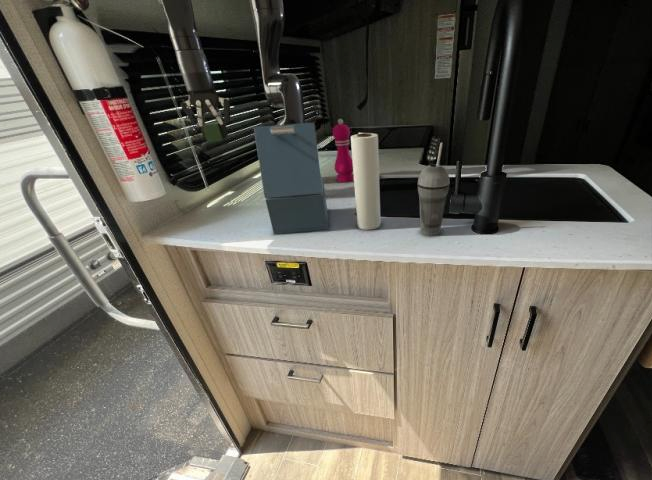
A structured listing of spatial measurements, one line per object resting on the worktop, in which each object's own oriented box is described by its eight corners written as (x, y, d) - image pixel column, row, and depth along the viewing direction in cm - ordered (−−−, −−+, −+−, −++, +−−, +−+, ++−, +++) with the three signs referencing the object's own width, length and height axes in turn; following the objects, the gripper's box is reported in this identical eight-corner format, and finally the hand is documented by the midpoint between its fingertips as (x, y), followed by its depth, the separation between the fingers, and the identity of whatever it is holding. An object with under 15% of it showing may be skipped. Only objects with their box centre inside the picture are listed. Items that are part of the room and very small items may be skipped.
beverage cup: (423, 224, 82) (428, 138, 70) (450, 229, 78) (459, 140, 66) (409, 234, 77) (412, 144, 65) (437, 241, 74) (445, 146, 62)
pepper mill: (338, 177, 122) (332, 117, 110) (356, 177, 121) (352, 117, 109) (334, 183, 116) (327, 120, 104) (353, 182, 115) (348, 119, 103)
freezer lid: (254, 128, 73) (248, 120, 68) (314, 123, 74) (312, 115, 69) (265, 198, 76) (260, 196, 72) (322, 193, 77) (321, 190, 72)
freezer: (280, 213, 94) (273, 182, 88) (327, 209, 94) (323, 178, 89) (273, 234, 82) (265, 200, 76) (327, 229, 82) (322, 195, 77)
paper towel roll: (376, 231, 80) (372, 137, 67) (354, 229, 82) (346, 137, 69) (384, 220, 85) (383, 131, 72) (363, 218, 87) (358, 131, 74)
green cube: (211, 139, 100) (206, 123, 98) (226, 138, 101) (221, 121, 98) (207, 141, 97) (202, 125, 94) (222, 140, 97) (217, 124, 94)
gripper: (225, 69, 92) (242, 134, 102) (174, 72, 91) (197, 138, 101) (218, 69, 86) (237, 139, 96) (163, 73, 85) (189, 143, 95)
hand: (216, 138), depth 98 cm, fingers closed on green cube, 4 cm apart
